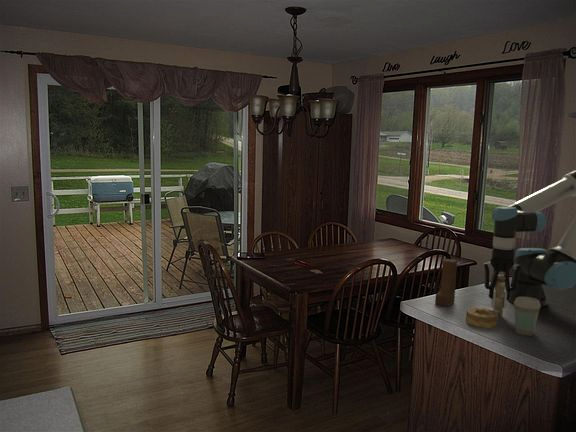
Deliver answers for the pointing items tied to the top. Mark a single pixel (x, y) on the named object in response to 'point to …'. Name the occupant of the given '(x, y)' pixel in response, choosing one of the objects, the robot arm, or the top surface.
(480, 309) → the tan faceted ring
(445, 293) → the wooden block
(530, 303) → the coffee cup
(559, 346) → the top surface
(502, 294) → the wooden dowel
